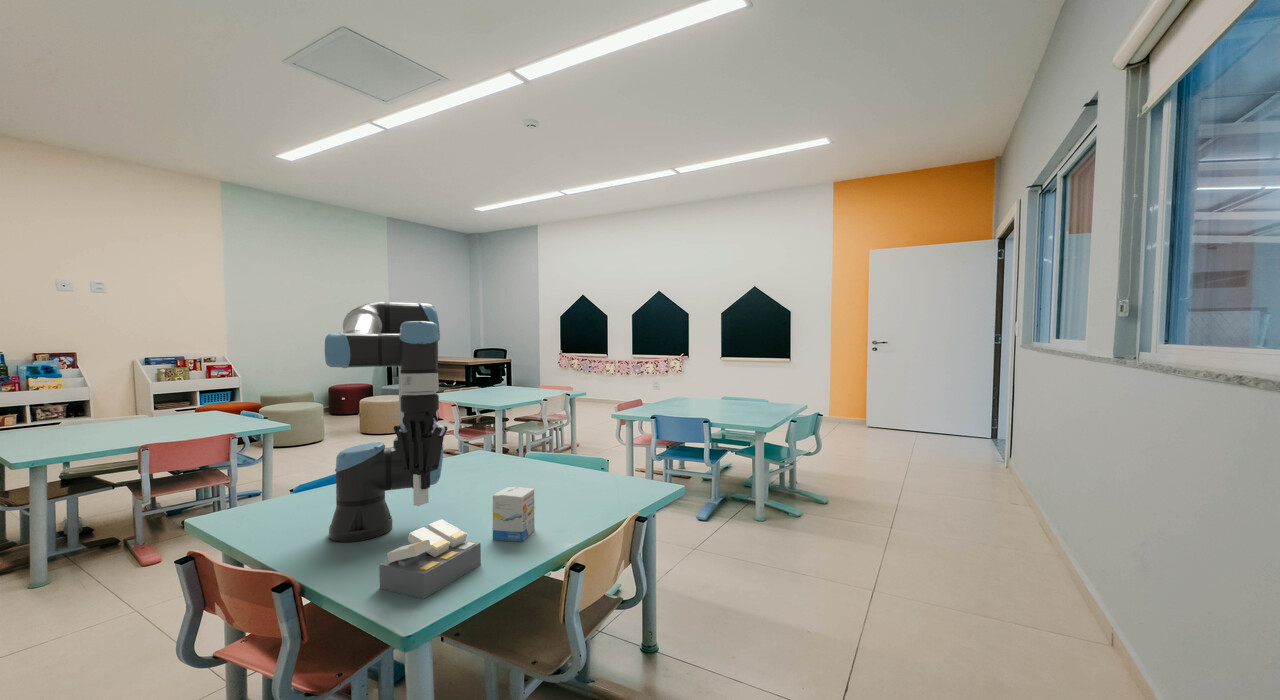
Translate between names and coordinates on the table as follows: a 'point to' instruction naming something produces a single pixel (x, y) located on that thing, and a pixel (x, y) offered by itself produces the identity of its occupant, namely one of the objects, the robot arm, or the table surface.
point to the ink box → (513, 514)
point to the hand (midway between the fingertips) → (421, 503)
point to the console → (429, 570)
